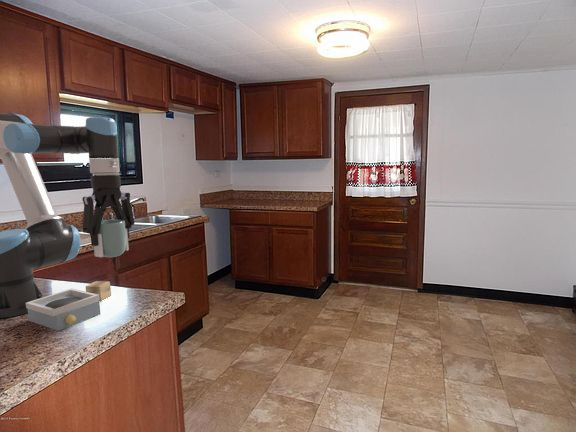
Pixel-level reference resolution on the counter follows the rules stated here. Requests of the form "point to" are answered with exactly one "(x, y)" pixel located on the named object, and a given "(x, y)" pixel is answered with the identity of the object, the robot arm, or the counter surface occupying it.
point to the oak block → (100, 289)
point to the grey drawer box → (63, 308)
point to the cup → (113, 237)
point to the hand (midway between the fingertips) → (112, 253)
